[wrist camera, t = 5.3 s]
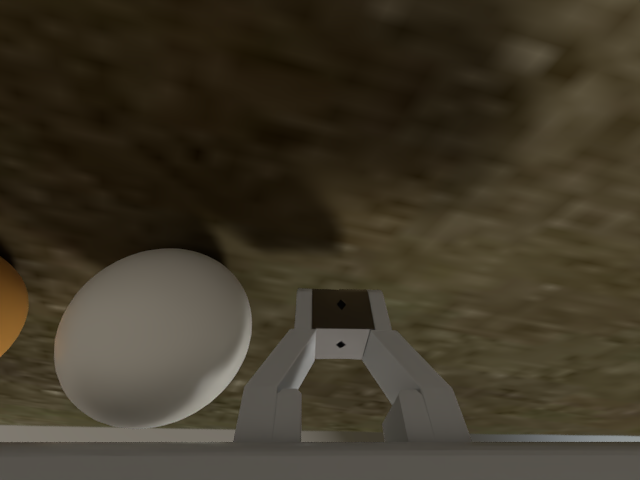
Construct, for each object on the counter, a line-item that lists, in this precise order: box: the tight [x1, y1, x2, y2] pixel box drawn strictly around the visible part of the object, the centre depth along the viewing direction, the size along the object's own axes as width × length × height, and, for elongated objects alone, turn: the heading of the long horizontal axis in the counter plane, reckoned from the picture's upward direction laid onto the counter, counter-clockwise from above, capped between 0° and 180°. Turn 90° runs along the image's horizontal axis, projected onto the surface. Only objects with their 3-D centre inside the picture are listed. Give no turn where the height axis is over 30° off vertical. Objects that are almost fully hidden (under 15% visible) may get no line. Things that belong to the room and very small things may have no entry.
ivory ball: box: [54, 248, 252, 429], centre depth 9 cm, size 6×6×6 cm
